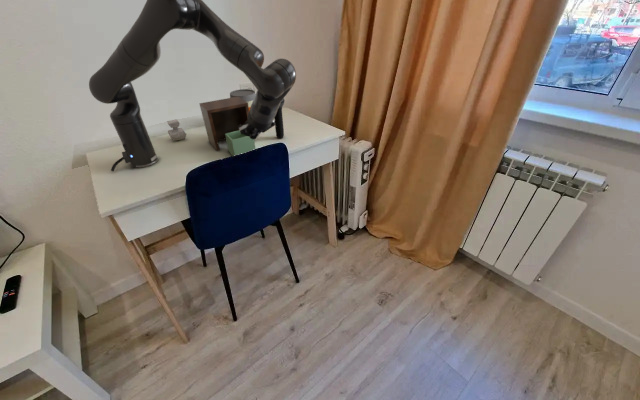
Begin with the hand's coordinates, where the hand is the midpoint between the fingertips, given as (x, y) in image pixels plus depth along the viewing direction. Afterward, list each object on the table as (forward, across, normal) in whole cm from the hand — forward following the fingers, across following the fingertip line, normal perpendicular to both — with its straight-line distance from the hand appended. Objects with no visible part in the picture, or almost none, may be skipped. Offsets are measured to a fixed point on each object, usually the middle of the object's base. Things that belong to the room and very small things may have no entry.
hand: (252, 136), depth 100 cm
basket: (+20, 0, -2) cm, 20 cm away
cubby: (+29, 0, -11) cm, 31 cm away
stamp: (+41, +19, -23) cm, 51 cm away
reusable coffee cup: (+42, -15, -24) cm, 51 cm away
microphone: (+23, -20, -5) cm, 31 cm away
